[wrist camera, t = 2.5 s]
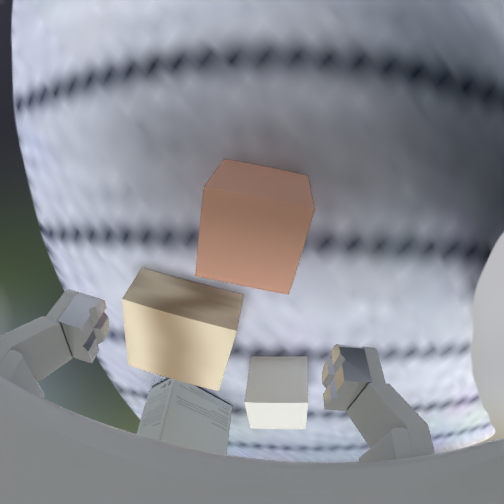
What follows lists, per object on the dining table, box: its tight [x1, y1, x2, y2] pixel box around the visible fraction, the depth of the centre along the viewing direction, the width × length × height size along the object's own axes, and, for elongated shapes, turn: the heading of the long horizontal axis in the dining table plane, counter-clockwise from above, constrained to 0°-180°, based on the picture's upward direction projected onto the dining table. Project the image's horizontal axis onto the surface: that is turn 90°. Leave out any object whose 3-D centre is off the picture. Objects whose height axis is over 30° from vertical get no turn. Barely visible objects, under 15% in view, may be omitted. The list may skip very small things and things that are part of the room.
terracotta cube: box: [195, 159, 315, 295], centre depth 17 cm, size 5×5×5 cm
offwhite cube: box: [245, 356, 308, 429], centre depth 25 cm, size 5×5×5 cm
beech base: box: [122, 268, 244, 391], centre depth 23 cm, size 8×8×4 cm
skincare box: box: [137, 378, 232, 455], centre depth 25 cm, size 8×6×15 cm
